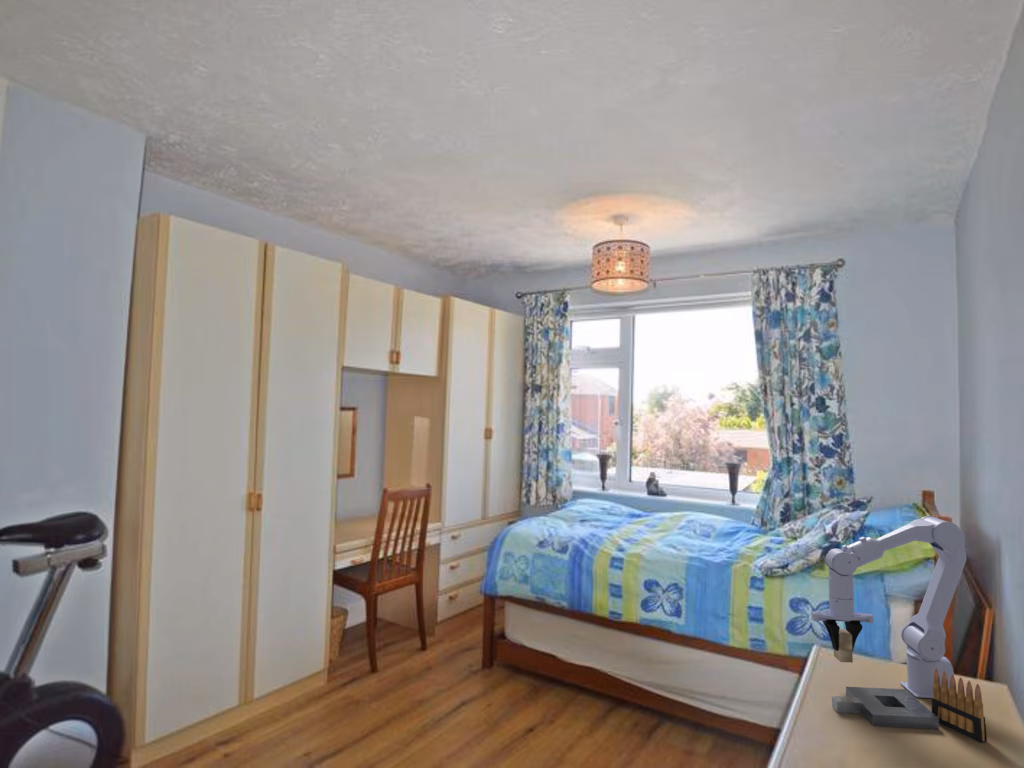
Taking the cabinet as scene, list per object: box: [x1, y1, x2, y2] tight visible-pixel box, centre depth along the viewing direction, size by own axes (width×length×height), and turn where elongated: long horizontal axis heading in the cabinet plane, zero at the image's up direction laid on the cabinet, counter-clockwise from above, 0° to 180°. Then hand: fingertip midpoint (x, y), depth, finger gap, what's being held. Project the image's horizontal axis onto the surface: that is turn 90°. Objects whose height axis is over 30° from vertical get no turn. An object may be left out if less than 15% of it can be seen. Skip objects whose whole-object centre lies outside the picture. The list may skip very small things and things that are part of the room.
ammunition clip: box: [931, 668, 988, 744], centre depth 135 cm, size 11×2×12 cm, turn 22°
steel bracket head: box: [831, 686, 940, 730], centre depth 143 cm, size 20×14×2 cm
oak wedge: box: [833, 628, 854, 663], centre depth 157 cm, size 3×4×7 cm
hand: (842, 649), depth 157 cm, fingers closed on oak wedge, 3 cm apart
